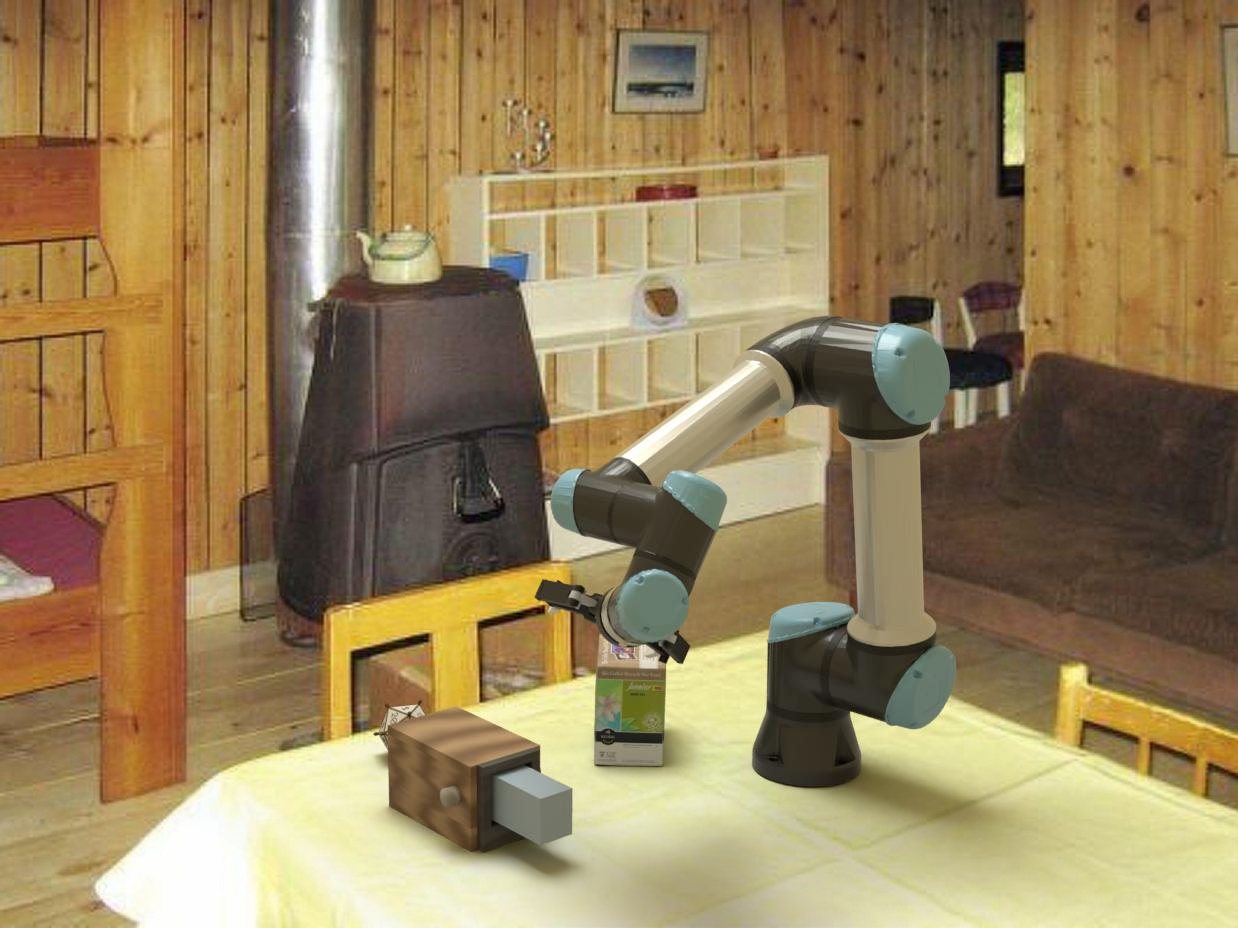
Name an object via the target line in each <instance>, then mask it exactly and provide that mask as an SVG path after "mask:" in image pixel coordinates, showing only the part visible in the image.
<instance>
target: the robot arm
mask: <svg viewBox="0 0 1238 928" xmlns="http://www.w3.org/2000/svg"><path fill="white" fill-rule="evenodd" d="M947 358H948V357H947V356H946V352H945V351H944V349H943V346H942V344H941V343H940V342H939V341H938V340H937V339H936V338H935V337H934V336H933V334H931V333H930V332H928V331H927V330H924V329H922V328H917V327H913V326H908V325H905V324H904V323H898V322H886V321H885V322H883V321H875V320H867V319H857V318H850V317H849V318H848V317H843V316H836V315H819V316H813V317H810V318H805V319H802V320H799V321H797V322H794V323H790V324H789V325H787V326H784V327H782V328H779V329H778V330H776V331H774V332H772V333H770V334H769V335H767V336H765V337H763V338H762V339H760V340H758V341H757V342H755V343H754V344H753V345H751V346H749V347H748V348H747V349H746V350H744V351H743V352H741V354H739V355H738V356H737V357H736V359H734V362H733V365H732V369H731V370H730V371H729V372H727V373H726V374H725V375H724V376H722V377H721V378H719V379H718V380H717V381H715V382H713V384H712V385H710V386H708V387H707V388H706V389H704V390H703V391H702V392H701V393H699V394H698V395H696V396H695V397H694V398H692V399H691V400H690V401H688V402H687V403H685V404H684V405H683V406H681V407H680V408H679V409H677V410H676V411H675V412H674V413H673V412H672V414H670V416H667V418H666V419H664V420H663V421H661V422H660V423H659V424H657V425H656V426H655V427H653V428H652V429H651V430H649V431H648V432H647V433H645V434H644V435H642V436H641V437H640V438H638V439H637V440H636V441H634V442H633V443H632V444H630V445H629V446H627V447H626V448H625V449H624V450H622V451H621V452H619V453H618V454H616V456H614V457H612V458H611V459H610V460H609V461H607V462H606V463H604V464H603V465H601V466H600V467H599V468H597V469H596V470H591V469H589V468H583V469H581V468H574V469H570V470H567V471H565V472H564V473H563V474H561V475H560V476H559V478H558V479H557V480H556V481H555V483H554V486H553V488H552V491H551V495H550V509H551V514H552V517H553V519H554V520H555V522H556V524H558V525H559V527H561V528H563V529H564V530H566V531H569V532H571V533H575V534H577V535H580V536H582V537H584V538H585V537H586V538H592V539H595V540H598V541H599V540H601V541H604V542H607V543H612V544H616V545H620V546H624V547H627V548H628V547H629V548H632V549H635V550H634V552H633V555H632V558H631V560H630V563H629V565H628V567H627V570H626V572H625V574H624V576H623V579H622V581H621V583H619V584H616V585H615V586H613V587H612V588H611V587H610V589H608V590H607V591H606V592H605V593H604V594H600V593H596V592H594V593H593V594H592V595H589V594H587V591H588V590H586V588H585V587H584V586H583V585H582V584H574V585H573V584H568V583H564V582H562V581H561V580H560V579H557V580H556V581H554V580H548V579H546V578H545V579H544V578H542V580H541V582H540V584H539V585H538V588H537V590H536V593H535V595H534V598H535V600H537V601H539V602H540V601H542V602H545V603H546V604H547V605H548V606H549V608H548V610H547V613H548V614H550V615H552V616H553V615H555V614H557V613H559V612H561V610H563V611H566V612H570V613H573V614H576V615H579V616H582V617H583V618H584V620H586V621H588V622H590V623H591V624H595V625H596V626H597V629H598V630H599V632H600V634H602V636H603V637H604V638H605V639H606V640H607V641H608V642H610V643H611V644H613V645H615V646H618V647H622V648H633V647H637V646H640V645H647V646H648V647H647V650H646V652H645V654H644V656H645V657H647V658H652V657H656V656H659V654H660V657H659V660H658V661H660V662H662V663H665V664H666V665H667V664H668V662H669V659H670V658H672V660H674V662H676V663H677V664H679V665H683V664H684V662H685V661H686V657H687V655H688V652H689V651H690V648H691V645H690V644H689V643H688V641H687V640H685V638H684V637H683V636H682V635H681V634H680V628H681V627H682V626H683V625H684V623H685V622H686V619H687V617H688V615H689V610H690V596H691V594H692V591H693V589H694V586H695V581H696V580H697V578H698V575H699V574H700V571H701V568H702V566H703V564H704V561H705V559H706V557H707V556H708V553H709V550H710V548H711V546H712V543H713V541H714V538H715V537H716V534H717V532H719V529H720V527H719V526H720V522H721V520H722V518H723V514H724V512H725V509H726V506H727V503H728V496H727V494H726V491H724V490H723V489H722V487H720V486H719V485H718V484H717V483H715V482H713V481H711V480H710V479H709V478H708V479H707V478H706V477H704V476H701V475H699V474H697V473H699V472H700V471H701V470H702V469H704V468H705V467H706V466H708V465H709V464H710V463H712V462H713V461H714V460H715V459H717V458H718V457H720V455H722V454H723V453H724V452H725V451H727V450H728V449H729V448H731V447H732V446H733V445H734V444H736V443H737V442H738V441H740V440H741V439H742V438H744V437H745V436H746V435H748V434H749V433H751V431H753V430H754V429H755V428H756V427H758V426H759V425H761V424H762V423H763V422H764V421H766V420H767V419H768V418H770V419H777V418H781V417H784V416H785V415H787V414H788V413H789V412H790V411H792V410H793V409H795V408H798V407H805V406H821V407H825V408H829V409H830V408H831V409H834V410H837V426H838V433H839V434H840V435H841V436H842V437H843V438H845V440H846V441H848V442H849V443H850V446H851V447H850V449H851V450H850V451H851V473H852V478H851V479H852V494H853V495H852V498H853V499H852V501H853V519H854V520H853V523H854V547H855V549H854V550H855V551H854V552H855V572H856V573H855V575H856V597H857V598H856V599H857V613H855V610H854V608H853V607H852V606H850V605H849V604H845V603H842V602H834V601H832V602H831V601H814V602H811V601H810V602H803V603H797V604H792V605H788V606H785V607H782V608H780V609H778V610H777V611H776V612H774V613H773V614H772V615H771V617H770V619H769V627H768V637H767V639H766V643H767V650H766V651H767V653H766V654H767V658H766V659H767V660H766V661H767V662H766V664H767V665H766V702H765V704H766V709H765V713H764V716H763V719H762V721H761V724H760V727H759V730H758V731H757V734H756V738H755V740H754V742H753V745H752V753H751V765H752V768H753V769H754V770H755V772H757V774H759V775H761V776H763V777H764V778H766V779H769V780H771V781H774V782H777V783H780V784H786V785H791V786H798V787H828V786H835V785H840V784H843V783H846V782H849V781H851V780H853V779H854V778H856V777H857V776H858V775H859V774H860V772H861V768H862V752H861V749H860V744H859V741H858V737H857V735H856V731H855V728H854V724H853V721H852V717H851V712H852V713H855V714H857V715H860V716H863V717H868V718H869V719H873V720H876V721H880V722H882V723H886V725H888V726H890V727H896V726H897V727H900V728H904V729H908V730H919V729H923V728H925V727H926V726H928V725H929V724H931V723H932V722H933V721H934V720H935V719H937V717H938V716H939V715H940V714H941V712H942V711H943V710H944V708H945V706H946V704H947V702H948V701H949V699H950V698H951V697H950V696H951V694H952V691H953V688H954V685H955V681H956V676H957V663H956V661H957V660H956V657H955V654H953V653H952V651H951V649H949V648H947V646H944V645H943V644H938V641H937V639H938V638H937V635H938V633H937V623H936V621H935V620H934V618H933V617H931V616H930V615H929V614H928V613H926V611H925V601H924V600H925V599H924V595H925V594H924V593H925V592H924V567H923V566H924V563H923V560H924V559H923V532H922V531H923V526H922V524H923V522H922V520H923V519H922V493H921V491H922V487H921V484H922V483H921V457H920V456H921V455H920V454H921V452H920V450H921V449H920V442H921V439H923V438H924V437H925V436H926V435H927V434H928V433H929V432H930V431H931V428H932V422H933V421H934V420H935V419H937V417H938V416H940V415H941V413H942V411H943V409H944V408H945V405H946V403H947V401H946V399H945V397H948V396H949V393H950V391H949V390H950V385H951V384H950V383H951V380H950V379H951V375H950V374H951V373H950V367H949V362H948V359H947Z"/></svg>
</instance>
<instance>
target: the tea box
mask: <svg viewBox="0 0 1238 928" xmlns="http://www.w3.org/2000/svg"><path fill="white" fill-rule="evenodd" d="M647 647H648V646H647V645H640V646H637V647H633V648H622V647H618V646H615V645H613V644H611V643H610V642H608V641H607V640H606V639H605V638H604V637H603V636H602V634H601V633H600V634H599V636H598V645H597V654H596V655H597V656H596V668H595V669H596V670H595V688H594V689H595V690H594V724H593V725H594V726H593V727H594V728H593V729H594V731H593V733H594V737H593V738H594V739H593V740H594V741H593V745H594V747H593V748H594V749H593V757H594V758H593V761H594V764H595V765H599V766H600V765H603V766H621V767H622V766H625V767H626V766H627V767H628V766H631V767H661V766H663V764H664V763H663V762H664V740H665V723H666V722H665V719H666V718H665V716H666V692H667V664H665V663H662V662H660V661H658V660H659V657H660V654H659V656H656V657H652V658H647V657H645V656H644V654H645V652H646V650H647Z"/></svg>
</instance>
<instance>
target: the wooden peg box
mask: <svg viewBox="0 0 1238 928" xmlns="http://www.w3.org/2000/svg"><path fill="white" fill-rule="evenodd" d="M425 714H426V713H425ZM387 760H388V761H387V764H388V765H387V766H388V777H387V778H388V806H389V807H391V808H392V809H394V810H397V811H398V812H400V813H402V814H404V815H405V816H406V817H409V818H410V819H412V820H414V821H416V822H417V823H419V824H421V825H423V826H424V827H427V828H428V829H430V830H432V831H434V832H435V833H436V834H439V835H441V836H442V837H444V838H446V839H448V840H450V841H451V842H453V843H455V844H456V845H458V846H461V847H462V848H463V849H466V850H468V852H469V851H470V852H475V851H476V850H478V851H480V852H481V853H485V852H486V853H487V852H488V851H492V850H495V849H497V848H500V847H503V846H506V845H508V844H511V843H514V842H517V841H520V840H523V839H526V838H525V837H524V836H522V835H520V834H518V833H516V832H514V831H512V830H510V829H508V828H507V827H505V826H503V825H501V824H499V823H497V822H495V821H493V820H491V774H494V773H497V772H500V771H503V770H506V769H510V768H513V767H516V766H519V765H522V764H523V765H525V766H527V767H529V768H532V769H534V770H536V771H538V772H540V773H542V769H541V744H539V743H536V742H534V741H532V740H530V739H527V738H525V737H524V736H522V735H520V734H516V733H515V732H513V731H510V730H509V729H506V728H504V727H502V726H500V725H497V724H496V723H493V722H491V721H489V720H487V719H485V718H483V717H481V716H478V715H476V714H474V713H472V712H470V711H467V710H465V709H463V708H461V707H459V706H456V705H455V706H452V707H451V706H450V707H449V708H444V709H440V710H437V711H434V712H431V713H427V714H426V715H423V716H419V717H416V718H412V719H408V720H405V721H401V722H398V723H394V724H391V725H388V750H387Z"/></svg>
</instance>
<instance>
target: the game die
mask: <svg viewBox="0 0 1238 928" xmlns="http://www.w3.org/2000/svg"><path fill="white" fill-rule="evenodd" d="M422 703H423V700H422V698H420V699H419V700H418V702H417V703H414V704H405V705H396V706H390V705H389V703H387V702H384V707H385V708H386V711H385V714H384V717H383V720H382V723H381V724H380V727H379V730H378V731H375V732H373V734H372V735H373V736H375V737H376V736H379V738H380V739H381V741H382V743H383V744H384V747H385V748H386V749H387V751H388V725H391V724H394V723H398V722H401V721H405V720H408V719H412V718H416V717H419V716H423V715H426V713H425V711H424V709H423V708H422V706H421V704H422Z"/></svg>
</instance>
